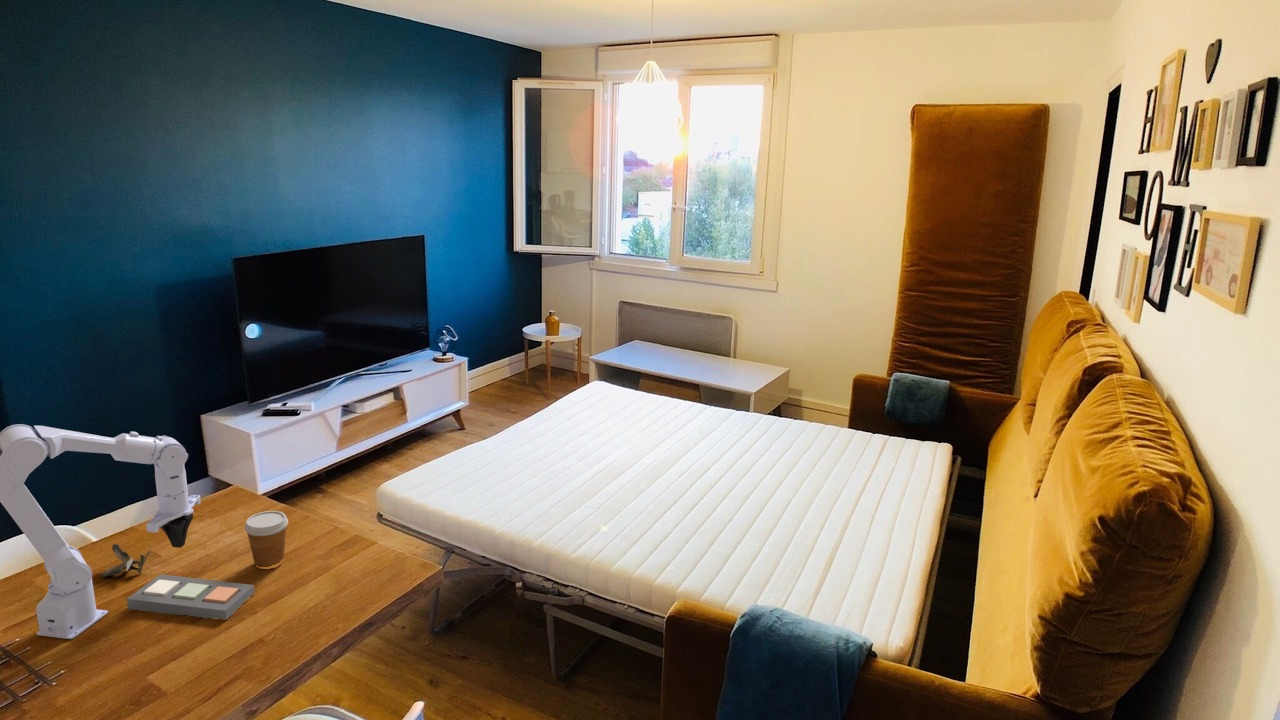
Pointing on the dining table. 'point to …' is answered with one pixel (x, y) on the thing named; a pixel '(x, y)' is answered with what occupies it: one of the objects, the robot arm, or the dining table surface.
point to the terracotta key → (221, 595)
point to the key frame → (190, 606)
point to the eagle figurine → (124, 562)
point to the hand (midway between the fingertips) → (178, 545)
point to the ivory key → (161, 588)
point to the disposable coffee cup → (267, 537)
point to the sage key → (191, 591)
